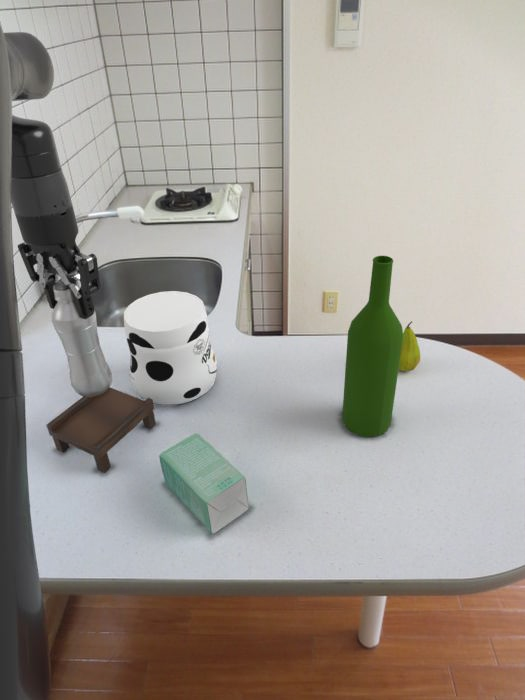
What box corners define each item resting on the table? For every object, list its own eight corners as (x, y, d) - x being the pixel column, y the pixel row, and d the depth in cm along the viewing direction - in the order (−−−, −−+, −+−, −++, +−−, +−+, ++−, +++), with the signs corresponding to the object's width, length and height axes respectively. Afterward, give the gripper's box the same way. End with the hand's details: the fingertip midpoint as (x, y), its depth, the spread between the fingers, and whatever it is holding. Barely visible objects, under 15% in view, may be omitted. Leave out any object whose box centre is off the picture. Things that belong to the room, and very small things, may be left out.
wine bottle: (399, 417, 98) (424, 256, 79) (375, 445, 92) (395, 278, 74) (357, 399, 102) (371, 242, 84) (332, 424, 97) (341, 262, 78)
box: (200, 461, 90) (195, 429, 86) (250, 509, 82) (247, 476, 77) (163, 483, 87) (156, 451, 82) (212, 536, 78) (207, 503, 74)
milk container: (236, 383, 108) (229, 307, 98) (169, 426, 98) (154, 346, 88) (182, 351, 118) (172, 280, 108) (117, 388, 108) (98, 312, 98)
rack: (104, 474, 89) (96, 448, 85) (55, 450, 94) (45, 424, 90) (157, 424, 98) (152, 399, 95) (110, 405, 104) (103, 380, 100)
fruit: (402, 355, 114) (409, 307, 107) (425, 369, 109) (433, 320, 103) (381, 366, 111) (387, 318, 104) (404, 381, 107) (411, 331, 100)
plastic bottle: (119, 393, 89) (94, 287, 77) (79, 407, 86) (47, 300, 75) (108, 374, 93) (83, 271, 82) (70, 386, 91) (38, 282, 79)
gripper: (-15, 206, 72) (21, 312, 81) (58, 221, 66) (88, 334, 75) (29, 190, 77) (58, 291, 87) (101, 203, 71) (124, 311, 80)
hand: (72, 311), depth 81 cm, fingers closed on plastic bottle, 6 cm apart
